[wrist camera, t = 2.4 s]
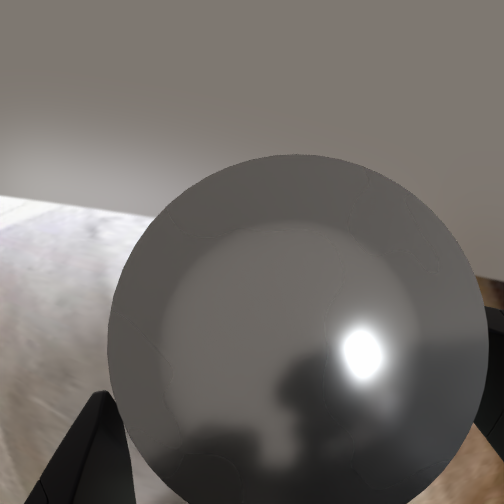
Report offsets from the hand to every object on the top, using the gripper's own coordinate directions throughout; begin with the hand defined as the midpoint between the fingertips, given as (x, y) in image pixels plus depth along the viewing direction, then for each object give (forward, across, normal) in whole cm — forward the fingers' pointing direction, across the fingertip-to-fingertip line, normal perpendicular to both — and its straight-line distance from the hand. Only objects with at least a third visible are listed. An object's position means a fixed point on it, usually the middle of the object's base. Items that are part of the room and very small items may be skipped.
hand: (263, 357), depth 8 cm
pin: (+6, 0, +6) cm, 8 cm away
